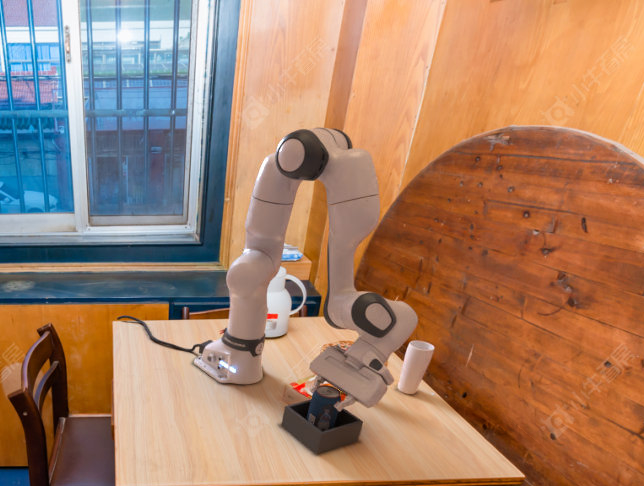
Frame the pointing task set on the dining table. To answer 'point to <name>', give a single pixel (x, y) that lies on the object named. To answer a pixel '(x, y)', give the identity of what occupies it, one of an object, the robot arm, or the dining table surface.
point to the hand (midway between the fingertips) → (324, 401)
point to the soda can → (323, 407)
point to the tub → (314, 438)
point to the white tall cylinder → (415, 366)
